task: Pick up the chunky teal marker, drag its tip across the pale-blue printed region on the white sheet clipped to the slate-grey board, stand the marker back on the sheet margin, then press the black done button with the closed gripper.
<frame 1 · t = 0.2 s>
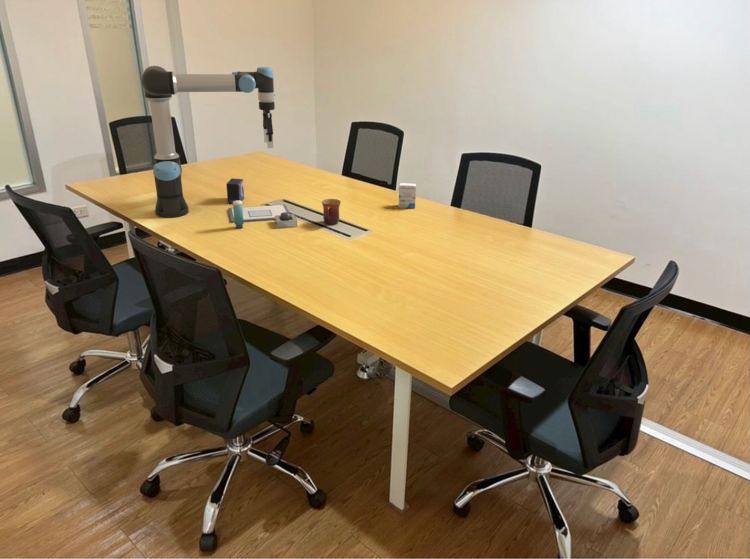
hand: (268, 145, 284), 28 cm above the table, fingers open, 13 cm apart
mug: (330, 224, 263), on the table
sheet: (259, 214, 273), on the table
marker: (239, 227, 255), on the table
button housing: (286, 224, 261), on the table
button: (285, 217, 259), point 3 cm above the table, slide at 0.0 cm
ink box: (406, 207, 290), on the table
small box: (236, 201, 291), on the table
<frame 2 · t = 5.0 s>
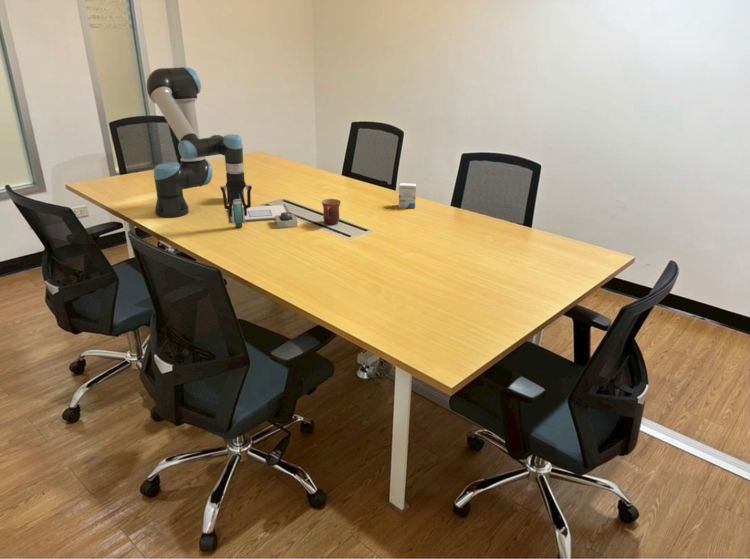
hand: (238, 222, 254), 2 cm above the table, fingers closed on marker, 4 cm apart
marker: (238, 226, 255), on the table, touching gripper
everything else where it was.
when the fingers open (3 cm above the table, at t = 14.3 s): marker stays where it is, resting on sheet.
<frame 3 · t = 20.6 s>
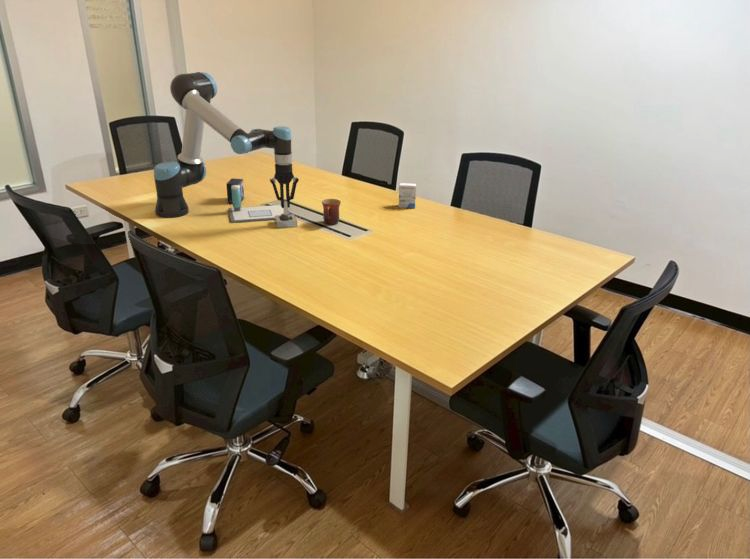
hand: (285, 214, 259), 5 cm above the table, fingers closed
marker: (237, 210, 274), point 1 cm above the table, touching sheet
button: (285, 218, 260), point 3 cm above the table, slide at 0.5 cm, touching gripper
everything else where it was.
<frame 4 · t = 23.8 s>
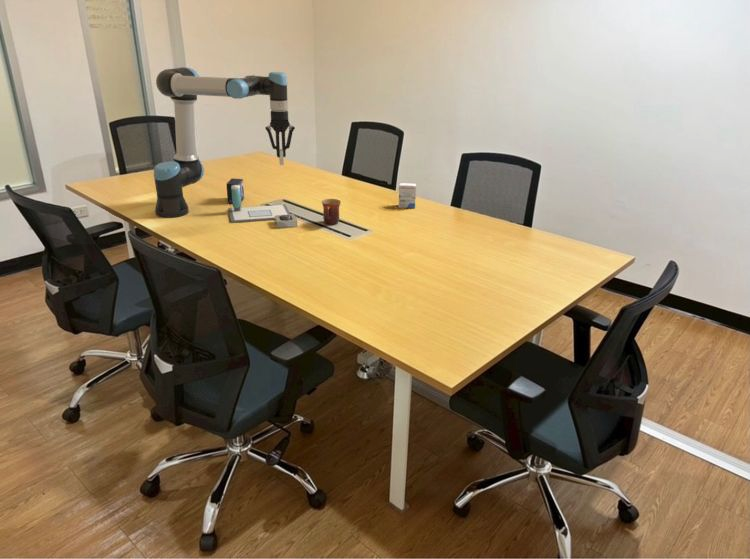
hand: (281, 164, 255), 26 cm above the table, fingers closed
button: (285, 219, 260), point 2 cm above the table, slide at 1.2 cm
everything else where it was.
at the end: button slide at 1.2 cm; marker inside the target area (0.1 cm from its centre), point 1.0 cm above the table; marker tilted 0° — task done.
